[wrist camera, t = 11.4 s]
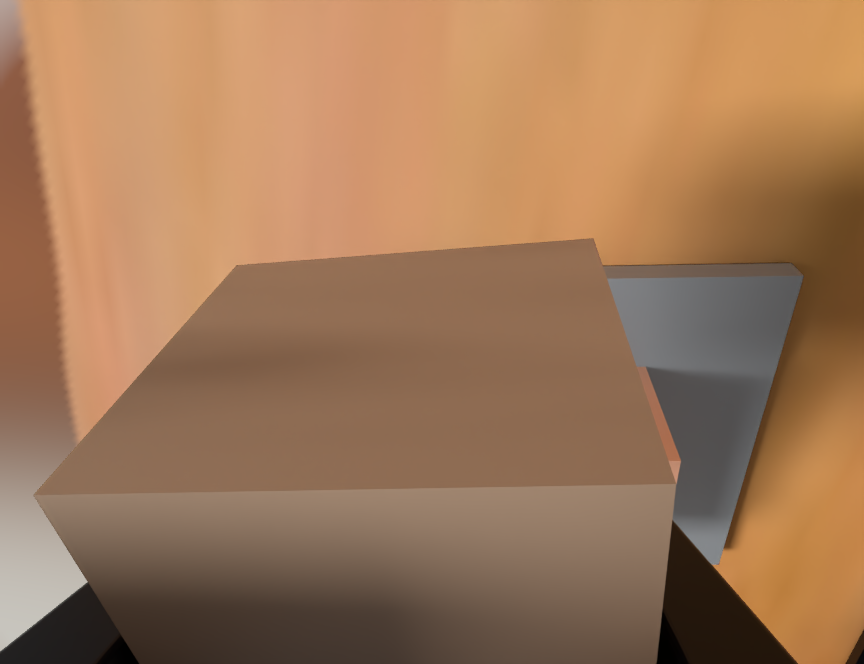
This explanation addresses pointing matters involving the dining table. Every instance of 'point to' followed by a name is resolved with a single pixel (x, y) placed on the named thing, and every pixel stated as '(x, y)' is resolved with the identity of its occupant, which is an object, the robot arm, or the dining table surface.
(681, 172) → the dining table surface
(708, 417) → the baseplate
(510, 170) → the dining table surface
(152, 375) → the walnut brick
